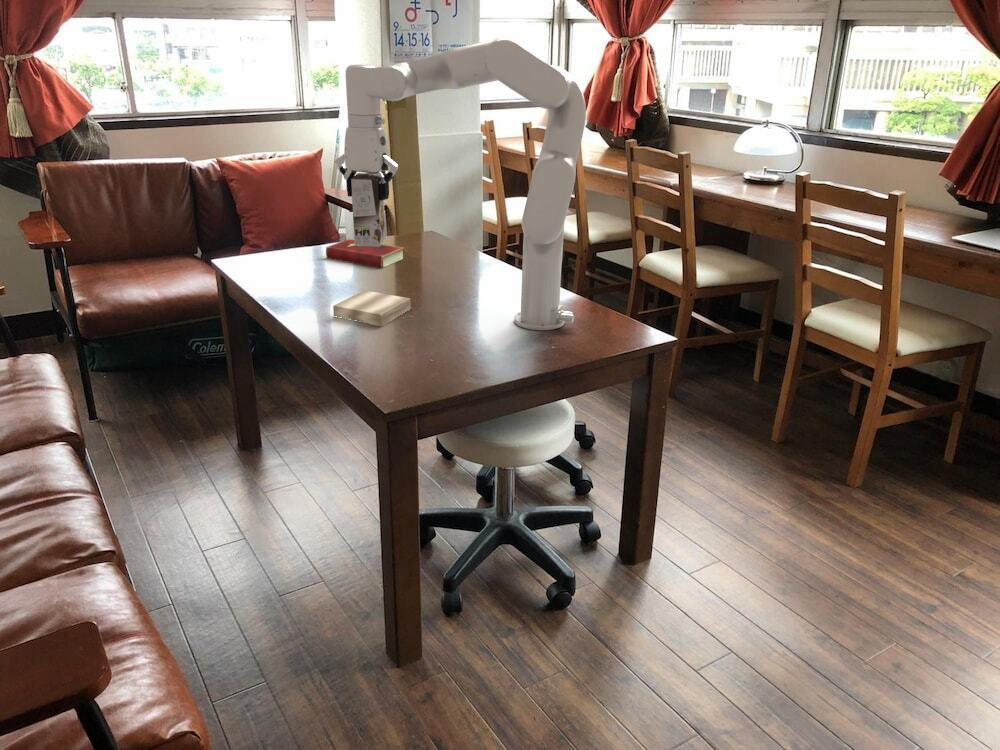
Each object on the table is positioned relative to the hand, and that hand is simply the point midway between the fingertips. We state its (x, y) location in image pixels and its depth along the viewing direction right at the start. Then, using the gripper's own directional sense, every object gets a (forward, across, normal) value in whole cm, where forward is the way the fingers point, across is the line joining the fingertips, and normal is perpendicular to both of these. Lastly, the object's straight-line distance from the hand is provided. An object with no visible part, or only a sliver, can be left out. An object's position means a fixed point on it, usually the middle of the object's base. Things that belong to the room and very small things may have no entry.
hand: (368, 197), depth 194 cm
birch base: (+29, 0, 0) cm, 29 cm away
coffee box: (+11, 0, 0) cm, 11 cm away
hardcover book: (+30, +30, -42) cm, 59 cm away
